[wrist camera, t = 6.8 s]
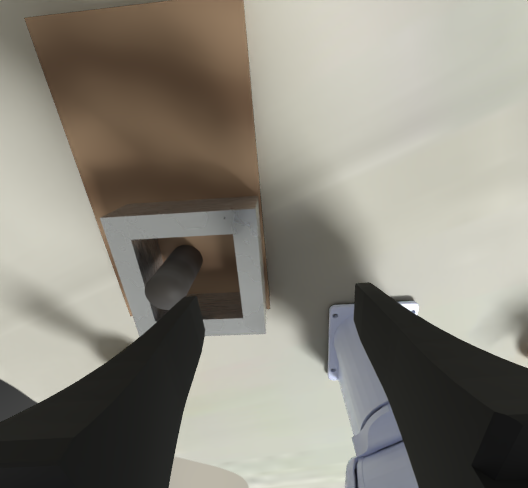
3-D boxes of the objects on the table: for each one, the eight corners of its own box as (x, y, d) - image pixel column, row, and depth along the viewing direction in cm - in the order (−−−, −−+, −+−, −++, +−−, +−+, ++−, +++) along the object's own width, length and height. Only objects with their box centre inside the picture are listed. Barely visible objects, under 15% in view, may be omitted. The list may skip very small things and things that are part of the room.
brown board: (269, 302, 24) (269, 352, 19) (135, 309, 25) (97, 359, 19) (243, 0, 15) (228, -73, 10) (38, 24, 16) (-82, -32, 11)
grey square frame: (266, 305, 23) (265, 333, 20) (157, 310, 24) (140, 338, 20) (257, 195, 19) (255, 208, 16) (127, 203, 20) (99, 218, 16)
